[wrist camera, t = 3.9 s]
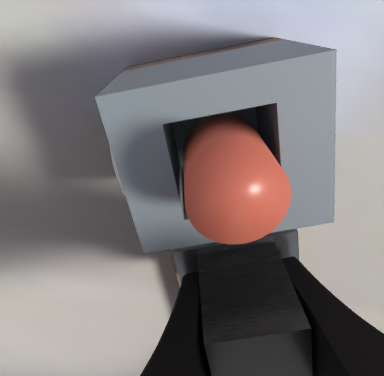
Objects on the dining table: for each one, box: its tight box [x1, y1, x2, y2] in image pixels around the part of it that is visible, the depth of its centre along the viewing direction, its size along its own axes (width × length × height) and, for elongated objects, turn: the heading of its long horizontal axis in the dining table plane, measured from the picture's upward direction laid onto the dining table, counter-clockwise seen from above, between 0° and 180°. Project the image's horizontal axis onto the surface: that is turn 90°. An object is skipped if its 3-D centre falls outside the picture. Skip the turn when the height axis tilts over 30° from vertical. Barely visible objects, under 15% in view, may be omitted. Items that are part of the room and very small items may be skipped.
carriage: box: [173, 229, 313, 376], centre depth 13 cm, size 5×4×6 cm
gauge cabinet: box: [95, 39, 336, 254], centre depth 11 cm, size 6×5×4 cm
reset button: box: [183, 114, 291, 244], centre depth 9 cm, size 2×2×3 cm
